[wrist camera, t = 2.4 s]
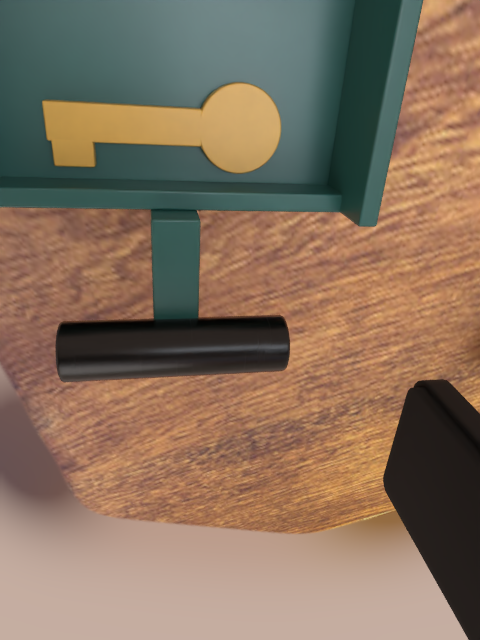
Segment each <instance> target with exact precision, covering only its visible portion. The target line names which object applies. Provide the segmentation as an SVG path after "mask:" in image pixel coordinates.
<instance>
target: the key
mask: <svg viewBox="0 0 480 640" xmlns="http://www.w3.org/2000/svg"><path fill="white" fill-rule="evenodd" d="M42 107H43V115H44V122H45V130H46V138H47V140H48V141H51V144H52V152H53V160H54V165H55V166H65V167H95V166H96V150H95V143H118V144H142V145H167V146H192V147H200V146H201V148H202V150H203V152H204V153H205V155H206V156H207V158H208V159H209V160H210V161H211V162H212V163H213V164H214V165H215V166H217V167H218V168H220V169H221V170H224V171H226V172H230V173H236V174H243V173H248V172H251V171H254V170H256V169H258V168H260V167H261V166H263V165H264V164H265V163H266V162H267V161H268V160H269V159H270V158H271V157H272V155H273V154H274V152H275V150H276V149H277V146H278V144H279V140H280V136H281V119H280V114H279V111H278V108H277V106H276V104H275V103H274V101H273V99H272V98H271V97H270V96H269V95H268V94H267V93H266V92H265V91H264V90H262V89H261V88H259V87H257V86H255V85H252V84H249V83H243V82H234V83H229V84H225V85H223V86H221V87H219V88H217V89H216V90H214V91H213V92H212V93H211V94H210V95H209V96H208V97H207V99H206V100H205V101H204V103H203V105H202V107H201V109H200V108H191V107H173V106H155V105H137V104H119V103H101V102H83V101H66V100H48V99H46V100H43V101H42Z"/></svg>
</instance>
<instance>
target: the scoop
mask: <svg viewBox="0 0 480 640" xmlns="http://www.w3.org/2000/svg"><path fill="white" fill-rule="evenodd" d="M422 4H423V0H0V207H15V208H83V209H151V245H152V278H153V311H154V319H121V320H85V321H63V322H61V323H60V324H59V327H58V330H57V335H56V365H57V371H58V375H59V377H60V380H61V381H63V382H81V381H100V380H120V379H139V378H158V377H178V376H197V375H216V374H236V373H255V372H275V371H283V370H285V369H286V367H287V365H288V361H289V355H290V338H289V331H288V327H287V323H286V321H285V319H284V317H283V316H281V315H262V316H227V317H198V312H199V267H200V219H199V216H198V213H197V210H218V211H286V212H341V213H342V214H343V215H345V216H346V217H347V218H349V219H350V220H351V221H353V222H354V223H355V224H357V225H358V226H363V227H374V226H376V225H377V220H378V215H379V210H380V206H381V201H382V196H383V191H384V186H385V182H386V177H387V172H388V167H389V162H390V158H391V153H392V148H393V143H394V138H395V134H396V129H397V124H398V119H399V114H400V110H401V105H402V100H403V95H404V90H405V85H406V81H407V76H408V71H409V66H410V61H411V57H412V52H413V47H414V42H415V37H416V33H417V28H418V23H419V18H420V13H421V9H422ZM234 82H243V83H249V84H252V85H255V86H257V87H259V88H261V89H262V90H264V91H265V92H266V93H267V94H268V95H269V96H270V97H271V98H272V99H273V101H274V103H275V104H276V106H277V108H278V111H279V114H280V119H281V136H280V140H279V144H278V146H277V149H276V150H275V152H274V154H273V155H272V157H271V158H270V159H269V160H268V161H267V162H266V163H265V164H264V165H263V166H261V167H260V168H258V169H256V170H254V171H251V172H248V173H243V174H236V173H230V172H226V171H224V170H221V169H220V168H218V167H217V166H215V165H214V164H213V163H212V162H211V161H210V160H209V159H208V158H207V156H206V155H205V153H204V152H203V150H202V148H201V146H200V147H192V146H167V145H142V144H118V143H95V150H96V166H95V167H65V166H55V165H54V160H53V152H52V144H51V141H48V140H47V138H46V130H45V122H44V115H43V107H42V101H43V100H46V99H48V100H66V101H83V102H101V103H119V104H137V105H155V106H173V107H191V108H200V109H201V107H202V105H203V103H204V101H205V100H206V99H207V97H208V96H209V95H210V94H211V93H212V92H213V91H214V90H216V89H217V88H219V87H221V86H223V85H225V84H229V83H234Z"/></svg>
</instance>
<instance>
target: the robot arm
mask: <svg viewBox="0 0 480 640" xmlns="http://www.w3.org/2000/svg"><path fill="white" fill-rule="evenodd" d="M383 482H384V487H385V491H386V493H387V495H388V497H389V498H390V500H391V502H392V504H393V506H394V507H395V509H396V511H397V513H398V514H399V516H400V518H401V520H402V521H403V523H404V525H405V527H406V529H407V530H408V532H409V534H410V536H411V538H412V539H413V541H414V543H415V545H416V547H417V548H418V550H419V552H420V554H421V555H422V557H423V559H424V561H425V563H426V564H427V566H428V568H429V570H430V571H431V573H432V575H433V577H434V579H435V580H436V582H437V584H438V586H439V588H440V589H441V591H442V593H443V594H444V596H445V598H446V600H447V602H448V604H449V605H450V607H451V609H452V611H453V612H454V614H455V616H456V618H457V620H458V621H459V623H460V625H461V627H462V629H463V630H464V632H465V634H466V636H467V637H468V639H469V640H480V414H479V413H478V411H477V410H476V409H475V408H474V407H473V406H472V405H471V404H470V403H469V402H468V401H467V400H466V399H465V398H464V397H463V396H462V395H461V394H460V393H459V392H458V391H457V390H456V389H455V388H454V387H453V386H452V384H451V383H449V382H448V381H447V380H443V379H441V380H423V381H418V382H417V383H416V384H415V386H414V388H410V389H409V390H408V393H407V396H406V399H405V403H404V406H403V410H402V413H401V417H400V420H399V424H398V427H397V431H396V434H395V438H394V441H393V445H392V448H391V452H390V455H389V459H388V462H387V466H386V469H385V473H384V477H383Z"/></svg>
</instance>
